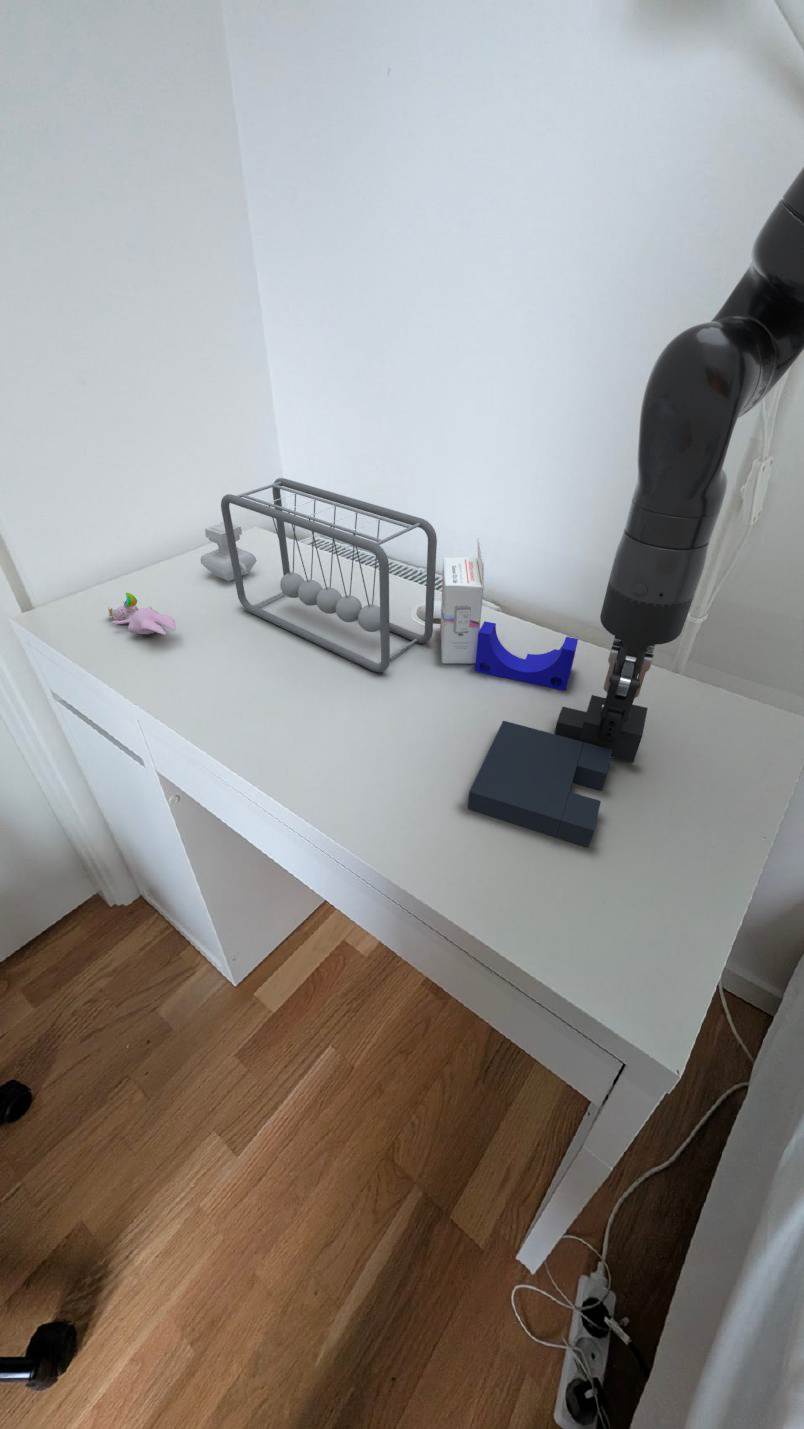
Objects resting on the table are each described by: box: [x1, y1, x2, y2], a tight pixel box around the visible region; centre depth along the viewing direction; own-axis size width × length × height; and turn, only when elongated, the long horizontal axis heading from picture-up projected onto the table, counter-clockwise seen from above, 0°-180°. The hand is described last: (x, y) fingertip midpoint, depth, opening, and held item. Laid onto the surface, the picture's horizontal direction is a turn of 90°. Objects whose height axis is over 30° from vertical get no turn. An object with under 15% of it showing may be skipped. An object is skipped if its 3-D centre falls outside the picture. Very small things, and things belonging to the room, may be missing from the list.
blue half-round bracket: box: [474, 620, 579, 692], centre depth 75 cm, size 12×4×6 cm, turn 69°
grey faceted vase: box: [200, 521, 258, 582], centre depth 96 cm, size 9×7×8 cm
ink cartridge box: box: [439, 536, 485, 664], centre depth 77 cm, size 9×5×15 cm, turn 179°
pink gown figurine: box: [107, 592, 177, 636], centre depth 83 cm, size 6×6×15 cm
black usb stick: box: [554, 694, 648, 764], centre depth 64 cm, size 9×5×4 cm, turn 66°
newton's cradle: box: [220, 477, 438, 673], centre depth 80 cm, size 30×10×18 cm, turn 51°
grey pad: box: [467, 720, 612, 848], centre depth 60 cm, size 12×12×2 cm
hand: (610, 723), depth 64 cm, fingers closed on black usb stick, 5 cm apart
